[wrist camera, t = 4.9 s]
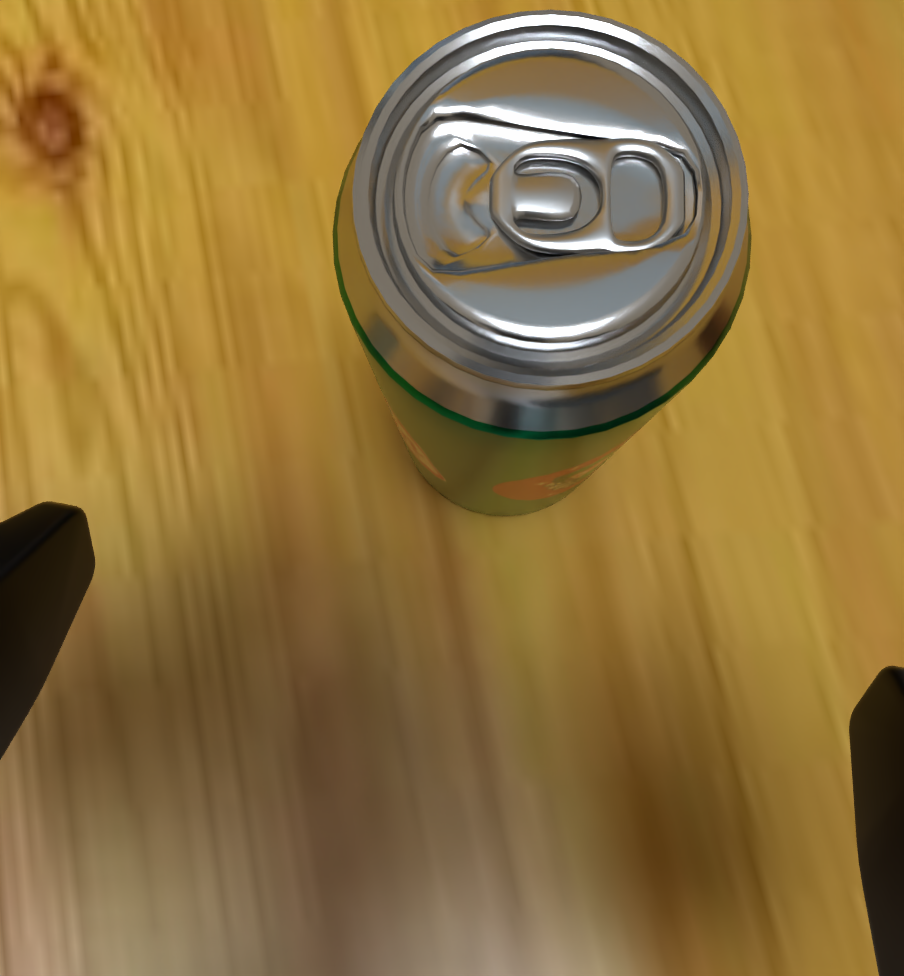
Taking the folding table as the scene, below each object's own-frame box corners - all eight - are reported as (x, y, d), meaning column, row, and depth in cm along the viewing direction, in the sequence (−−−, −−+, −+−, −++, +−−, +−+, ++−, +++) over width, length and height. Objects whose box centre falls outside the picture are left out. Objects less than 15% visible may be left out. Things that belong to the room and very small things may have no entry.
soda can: (405, 318, 21) (324, -27, 9) (604, 321, 21) (780, -25, 9) (400, 516, 21) (306, 418, 9) (605, 520, 21) (793, 425, 9)
